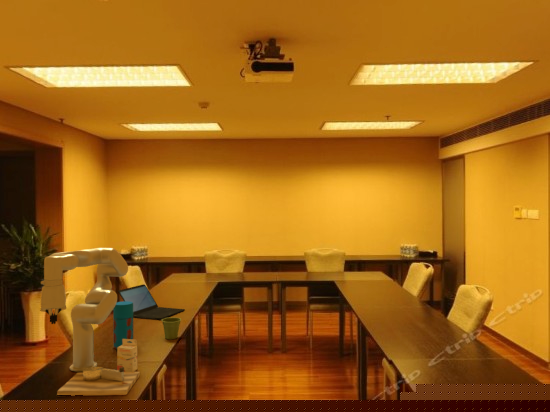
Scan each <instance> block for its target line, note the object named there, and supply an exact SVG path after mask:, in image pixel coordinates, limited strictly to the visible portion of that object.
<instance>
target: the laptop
mask: <svg viewBox="0 0 550 412" xmlns="http://www.w3.org/2000/svg"><path fill="white" fill-rule="evenodd" d="M117 292H118V294H119V295H120V297H121V299H122V302H123V301H129V302H133V318H137V319H145V320H146V319H149V320H157V321H158V320H159V321H162V319H164V318H170V317H172V316H174V314H175V315H176V314H180V313H182V312H184V311H185V310H186V309H185V308H174V307H173V308H172V307H161V306H159V305H158V304H157V302H156V300H155V299H154V297H153V295H152V293H151V292H150V290H149V289H148V287H147V286H146V284H145V283H144V284H140V285H135V286H132V287H131V286H130V287H126V288H124V289H119V290H117Z"/></svg>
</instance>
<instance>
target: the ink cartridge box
mask: <svg viewBox="0 0 550 412" xmlns="http://www.w3.org/2000/svg"><path fill="white" fill-rule="evenodd" d="M127 341H130V342H132V343H127ZM122 342H123V345H121V346H119V347H117V349H116V355H117V358H116V366H117V367H116V370H119V368H120V367H124V372H136V371H137V370H138V341H137V339H133V340H132V339H122Z"/></svg>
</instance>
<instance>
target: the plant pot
mask: <svg viewBox="0 0 550 412" xmlns="http://www.w3.org/2000/svg"><path fill="white" fill-rule="evenodd" d="M181 321H182V318H180V317H172V316H171V317H167V318H164V319H162V320H161V322H162V325H163V332H164V338H165V339H166V340H174V339H175V340H176V339H177V338H178V335H179V331H180V330H179V329H180V324H181Z"/></svg>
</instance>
